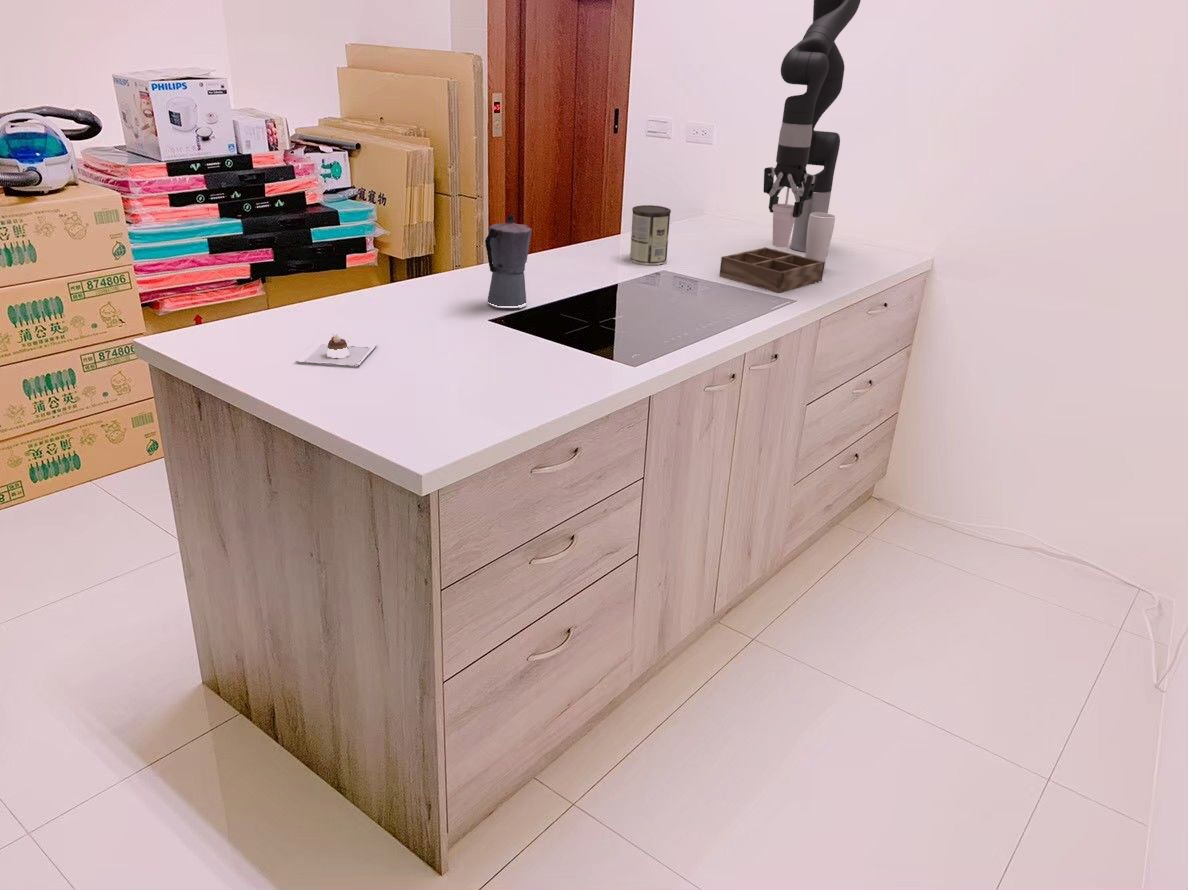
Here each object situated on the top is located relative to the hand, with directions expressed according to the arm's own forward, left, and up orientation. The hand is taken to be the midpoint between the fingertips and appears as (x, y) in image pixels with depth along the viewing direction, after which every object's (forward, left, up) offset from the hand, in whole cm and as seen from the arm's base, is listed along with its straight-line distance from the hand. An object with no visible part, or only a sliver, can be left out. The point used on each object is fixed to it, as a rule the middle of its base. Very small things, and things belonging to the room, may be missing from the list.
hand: (784, 214), depth 215 cm
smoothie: (0, 0, -8) cm, 8 cm away
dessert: (+112, -20, -19) cm, 115 cm away
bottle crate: (-4, -4, -18) cm, 19 cm away
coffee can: (+10, -35, -18) cm, 41 cm away
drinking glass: (-21, -2, -18) cm, 28 cm away
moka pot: (+67, -25, -18) cm, 74 cm away
